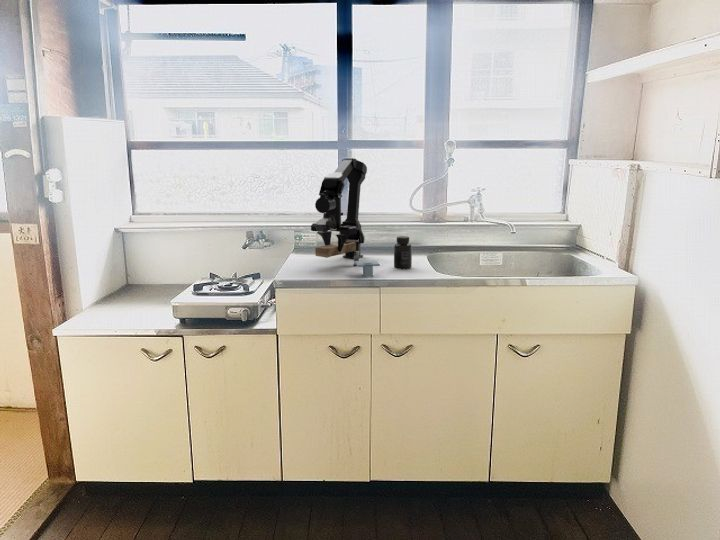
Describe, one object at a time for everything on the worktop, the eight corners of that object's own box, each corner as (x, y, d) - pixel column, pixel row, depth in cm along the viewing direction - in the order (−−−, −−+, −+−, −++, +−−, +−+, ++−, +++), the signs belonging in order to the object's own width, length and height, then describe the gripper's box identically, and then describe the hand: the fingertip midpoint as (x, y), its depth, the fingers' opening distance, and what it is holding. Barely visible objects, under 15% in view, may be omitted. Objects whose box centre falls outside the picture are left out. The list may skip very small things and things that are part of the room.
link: (326, 257, 196) (326, 249, 195) (315, 255, 199) (315, 247, 198) (356, 250, 210) (356, 242, 209) (345, 248, 213) (345, 241, 212)
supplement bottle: (413, 266, 205) (414, 236, 203) (409, 270, 199) (409, 238, 196) (396, 265, 207) (396, 235, 205) (391, 268, 201) (392, 237, 198)
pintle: (356, 264, 209) (356, 250, 208) (360, 265, 208) (360, 251, 207) (352, 265, 207) (352, 251, 206) (357, 265, 206) (357, 252, 205)
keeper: (379, 276, 190) (379, 263, 189) (357, 277, 188) (357, 265, 187) (374, 271, 196) (374, 260, 195) (353, 272, 194) (353, 261, 193)
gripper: (300, 210, 199) (301, 251, 202) (339, 214, 188) (339, 257, 191) (320, 207, 207) (320, 247, 211) (357, 211, 196) (358, 252, 200)
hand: (333, 250), depth 203 cm, fingers closed on link, 5 cm apart
